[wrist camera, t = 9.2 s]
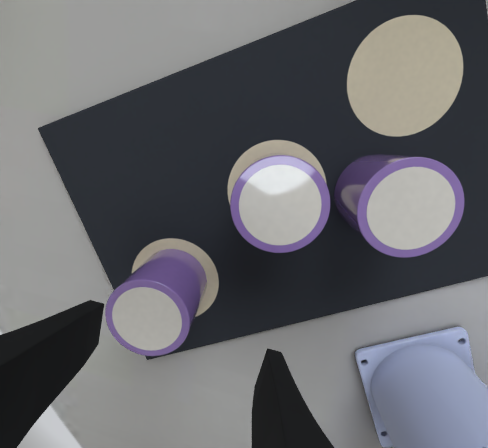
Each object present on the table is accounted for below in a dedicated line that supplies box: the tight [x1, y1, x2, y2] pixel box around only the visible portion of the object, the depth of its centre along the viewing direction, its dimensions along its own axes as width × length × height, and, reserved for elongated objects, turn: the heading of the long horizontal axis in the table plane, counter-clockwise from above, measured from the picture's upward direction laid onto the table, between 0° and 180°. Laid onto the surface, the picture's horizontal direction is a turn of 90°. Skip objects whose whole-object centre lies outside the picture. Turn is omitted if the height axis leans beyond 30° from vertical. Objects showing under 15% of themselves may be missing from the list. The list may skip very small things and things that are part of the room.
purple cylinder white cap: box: [334, 154, 464, 258], centre depth 17 cm, size 5×5×5 cm
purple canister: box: [105, 249, 207, 356], centre depth 20 cm, size 5×5×5 cm
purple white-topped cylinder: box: [230, 153, 330, 253], centre depth 17 cm, size 5×5×5 cm
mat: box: [38, 0, 488, 360], centre depth 20 cm, size 19×28×1 cm
